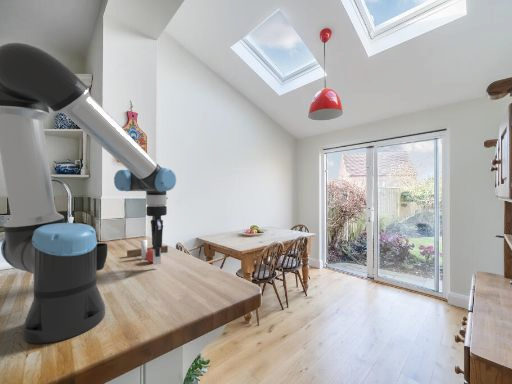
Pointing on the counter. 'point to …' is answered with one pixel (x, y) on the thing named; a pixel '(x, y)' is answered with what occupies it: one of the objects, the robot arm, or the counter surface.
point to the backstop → (138, 252)
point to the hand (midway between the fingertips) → (156, 263)
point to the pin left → (144, 249)
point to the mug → (101, 255)
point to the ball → (149, 255)
